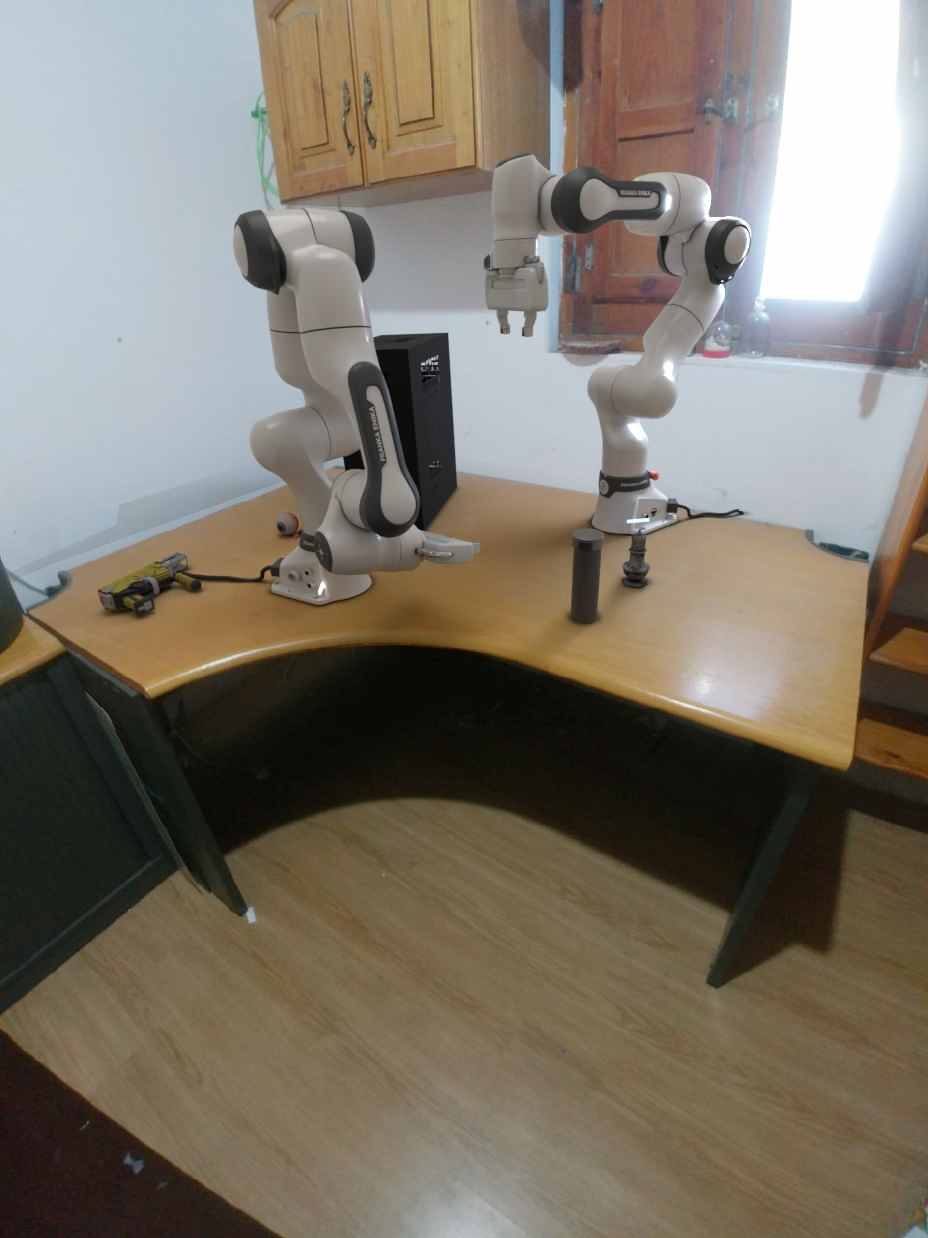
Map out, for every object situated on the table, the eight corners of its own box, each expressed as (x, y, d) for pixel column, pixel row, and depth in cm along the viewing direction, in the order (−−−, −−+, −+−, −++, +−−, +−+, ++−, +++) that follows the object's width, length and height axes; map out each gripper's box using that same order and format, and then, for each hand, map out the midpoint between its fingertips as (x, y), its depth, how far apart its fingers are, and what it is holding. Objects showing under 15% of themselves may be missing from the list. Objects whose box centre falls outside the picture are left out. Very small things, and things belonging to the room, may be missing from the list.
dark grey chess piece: (649, 588, 127) (655, 535, 121) (620, 586, 128) (625, 534, 122) (647, 575, 132) (653, 524, 126) (620, 574, 133) (624, 523, 127)
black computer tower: (424, 530, 162) (407, 348, 139) (353, 528, 166) (326, 351, 144) (457, 486, 193) (448, 332, 171) (397, 485, 198) (380, 334, 175)
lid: (610, 546, 110) (610, 535, 109) (585, 553, 108) (586, 542, 107) (589, 536, 114) (590, 526, 113) (565, 543, 112) (566, 533, 111)
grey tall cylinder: (602, 618, 118) (608, 537, 109) (582, 626, 116) (586, 544, 107) (585, 607, 122) (589, 529, 113) (565, 615, 119) (568, 535, 111)
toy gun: (225, 560, 144) (174, 549, 148) (148, 603, 124) (91, 589, 127) (228, 578, 146) (177, 567, 150) (152, 623, 126) (96, 609, 130)
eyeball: (273, 537, 164) (268, 516, 161) (287, 528, 169) (282, 508, 166) (291, 539, 161) (286, 518, 158) (305, 530, 166) (301, 510, 163)
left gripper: (434, 537, 101) (498, 534, 109) (376, 523, 117) (435, 521, 125) (433, 574, 103) (495, 569, 111) (376, 555, 119) (434, 551, 127)
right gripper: (557, 254, 111) (556, 336, 118) (505, 258, 127) (506, 331, 134) (528, 255, 109) (527, 339, 116) (478, 260, 125) (481, 333, 132)
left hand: (463, 543), depth 118 cm, fingers open, 8 cm apart
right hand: (516, 335), depth 125 cm, fingers open, 8 cm apart
